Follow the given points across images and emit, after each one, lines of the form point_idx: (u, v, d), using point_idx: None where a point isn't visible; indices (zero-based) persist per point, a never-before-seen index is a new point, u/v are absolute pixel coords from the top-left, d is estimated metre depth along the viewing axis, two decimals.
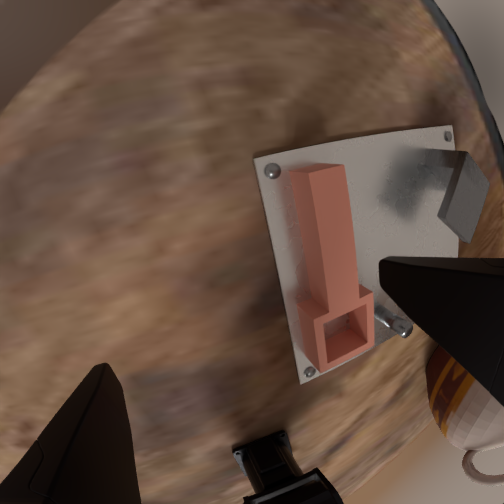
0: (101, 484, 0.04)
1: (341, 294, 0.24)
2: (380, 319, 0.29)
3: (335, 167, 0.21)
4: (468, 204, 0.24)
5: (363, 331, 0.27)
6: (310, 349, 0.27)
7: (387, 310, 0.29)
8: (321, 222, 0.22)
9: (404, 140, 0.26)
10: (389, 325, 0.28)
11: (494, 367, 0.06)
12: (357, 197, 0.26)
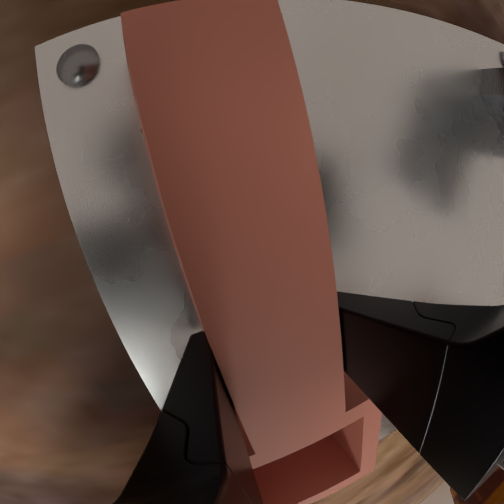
0: (238, 449, 0.05)
1: (290, 415, 0.08)
2: None
3: None
4: None
5: (353, 452, 0.11)
6: None
7: None
8: (180, 193, 0.05)
9: (440, 36, 0.09)
10: None
11: (423, 431, 0.05)
12: (345, 138, 0.09)
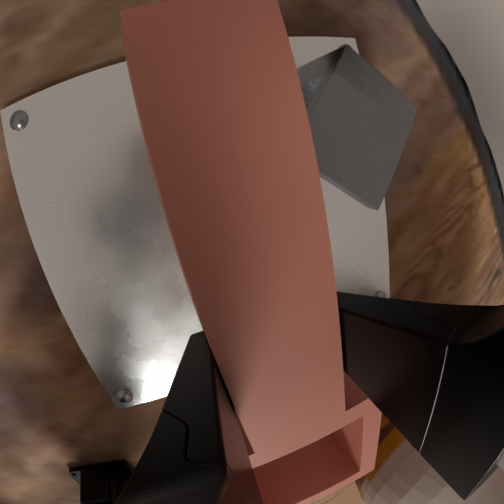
0: (237, 449, 0.05)
1: (290, 414, 0.08)
2: None
3: None
4: (360, 135, 0.15)
5: (352, 452, 0.11)
6: None
7: None
8: (178, 190, 0.05)
9: None
10: None
11: (423, 431, 0.05)
12: None
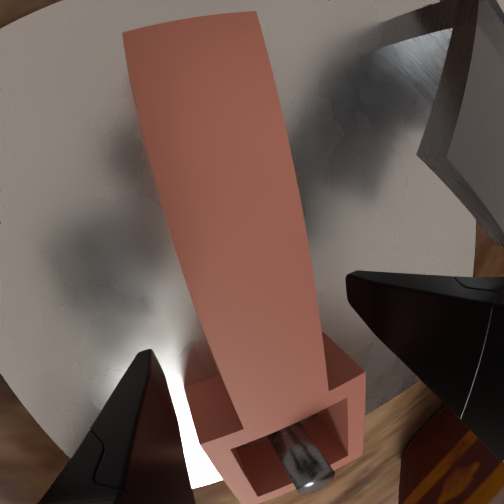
0: (162, 472, 0.05)
1: (275, 391, 0.09)
2: None
3: (224, 16, 0.05)
4: None
5: (340, 436, 0.12)
6: None
7: None
8: (173, 186, 0.06)
9: None
10: (277, 455, 0.10)
11: (466, 395, 0.06)
12: (137, 119, 0.08)
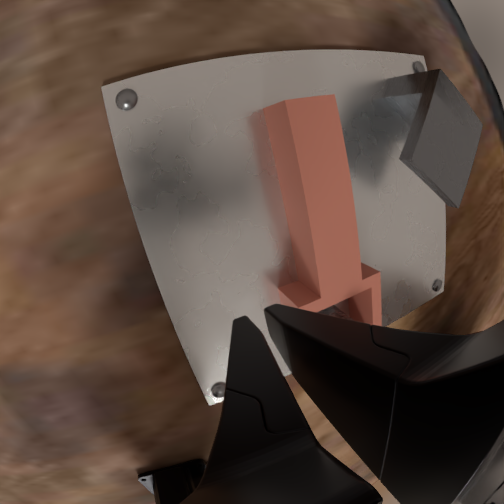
0: None
1: (337, 273, 0.18)
2: None
3: (322, 96, 0.15)
4: (450, 145, 0.16)
5: None
6: None
7: (332, 308, 0.21)
8: (305, 168, 0.15)
9: (346, 61, 0.17)
10: None
11: (381, 461, 0.05)
12: (268, 135, 0.17)
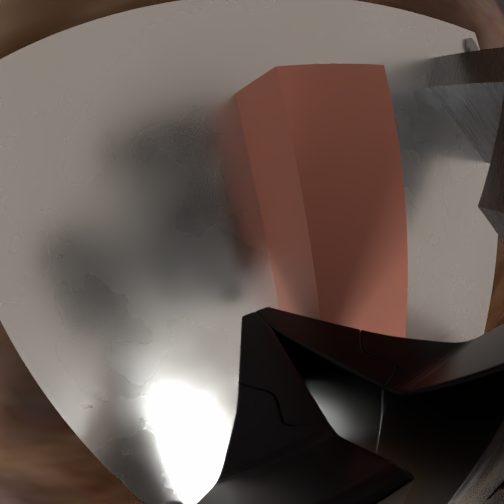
0: None
1: None
2: None
3: (361, 66, 0.06)
4: None
5: None
6: None
7: None
8: (321, 228, 0.07)
9: (370, 21, 0.09)
10: None
11: None
12: (220, 153, 0.09)
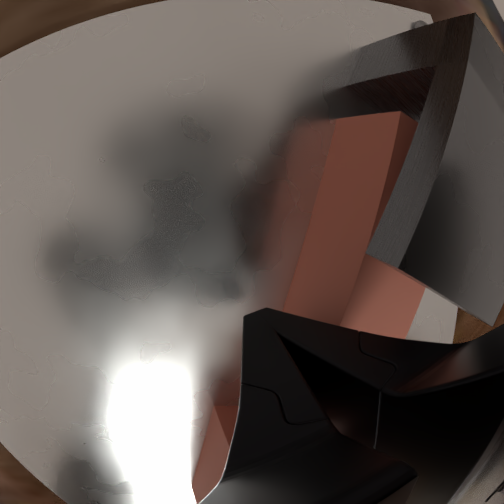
0: None
1: None
2: None
3: None
4: (499, 200, 0.06)
5: None
6: (204, 491, 0.10)
7: None
8: None
9: (260, 13, 0.08)
10: None
11: None
12: (66, 199, 0.08)
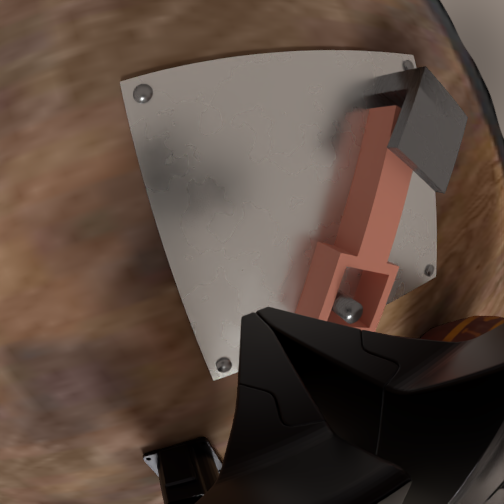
0: None
1: (375, 244, 0.21)
2: None
3: None
4: (435, 135, 0.18)
5: (368, 313, 0.23)
6: (311, 301, 0.22)
7: None
8: (389, 153, 0.19)
9: (340, 61, 0.19)
10: None
11: None
12: (269, 126, 0.19)
